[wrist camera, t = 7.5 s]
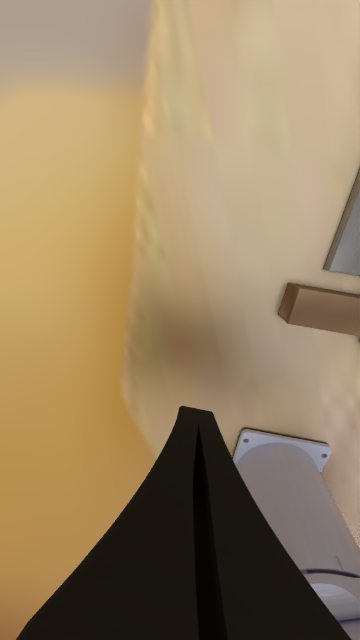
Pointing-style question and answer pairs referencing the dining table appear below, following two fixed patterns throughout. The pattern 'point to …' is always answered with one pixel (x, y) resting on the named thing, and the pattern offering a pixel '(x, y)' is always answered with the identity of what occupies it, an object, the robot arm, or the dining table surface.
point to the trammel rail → (321, 309)
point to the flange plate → (347, 237)
